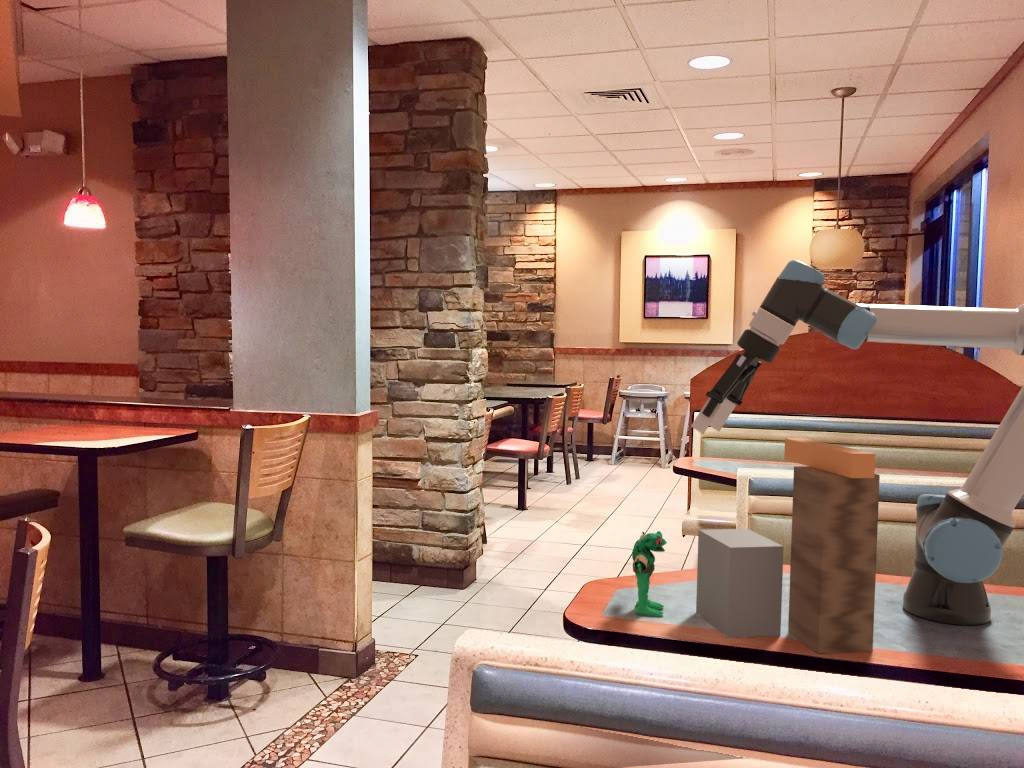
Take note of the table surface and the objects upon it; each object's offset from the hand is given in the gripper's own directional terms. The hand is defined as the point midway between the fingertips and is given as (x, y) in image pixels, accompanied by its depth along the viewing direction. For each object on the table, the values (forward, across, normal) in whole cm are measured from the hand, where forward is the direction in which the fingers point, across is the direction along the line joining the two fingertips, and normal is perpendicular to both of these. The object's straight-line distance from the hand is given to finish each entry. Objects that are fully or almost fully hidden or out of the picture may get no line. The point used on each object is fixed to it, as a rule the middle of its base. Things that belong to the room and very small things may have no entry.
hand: (705, 429), depth 163 cm
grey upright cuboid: (+26, +8, +25) cm, 37 cm away
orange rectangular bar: (-7, +9, +23) cm, 26 cm away
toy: (+34, +9, +11) cm, 37 cm away
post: (+18, +10, +39) cm, 44 cm away
